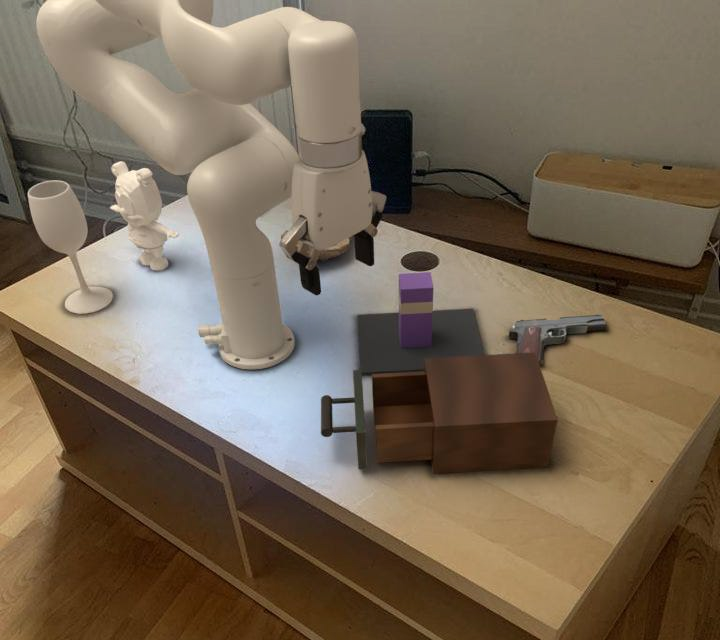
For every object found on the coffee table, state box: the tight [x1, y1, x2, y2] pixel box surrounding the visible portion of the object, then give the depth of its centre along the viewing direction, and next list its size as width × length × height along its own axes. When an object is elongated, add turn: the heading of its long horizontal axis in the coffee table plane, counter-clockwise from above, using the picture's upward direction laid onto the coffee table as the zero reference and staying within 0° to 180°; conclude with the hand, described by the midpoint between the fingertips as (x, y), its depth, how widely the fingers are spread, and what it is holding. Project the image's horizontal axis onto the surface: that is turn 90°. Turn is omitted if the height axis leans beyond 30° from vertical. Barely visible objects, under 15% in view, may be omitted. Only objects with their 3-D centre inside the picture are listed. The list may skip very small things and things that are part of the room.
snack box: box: [398, 271, 434, 348], centre depth 115 cm, size 5×4×11 cm
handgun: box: [507, 314, 607, 365], centre depth 117 cm, size 17×11×2 cm, turn 95°
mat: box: [357, 308, 485, 376], centre depth 120 cm, size 20×16×1 cm
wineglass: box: [27, 179, 114, 315], centre depth 125 cm, size 9×9×21 cm
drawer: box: [320, 369, 434, 470], centre depth 101 cm, size 19×13×7 cm
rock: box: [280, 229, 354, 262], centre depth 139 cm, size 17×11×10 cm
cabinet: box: [424, 352, 559, 474], centre depth 101 cm, size 16×14×9 cm
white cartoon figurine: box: [109, 160, 180, 271], centre depth 133 cm, size 8×20×19 cm, turn 49°
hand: (338, 276), depth 97 cm, fingers open, 9 cm apart
